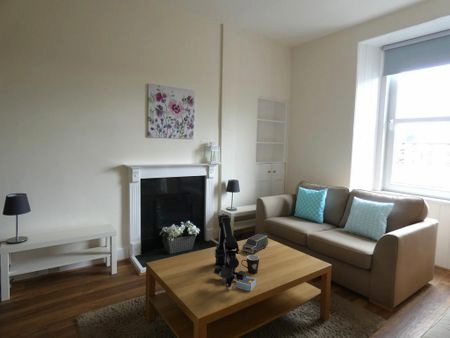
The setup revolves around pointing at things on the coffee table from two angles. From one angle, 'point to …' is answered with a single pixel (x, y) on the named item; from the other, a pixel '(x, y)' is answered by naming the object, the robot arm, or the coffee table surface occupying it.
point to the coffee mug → (252, 263)
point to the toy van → (255, 243)
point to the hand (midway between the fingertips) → (229, 286)
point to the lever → (232, 282)
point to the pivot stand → (224, 281)
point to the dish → (246, 283)
